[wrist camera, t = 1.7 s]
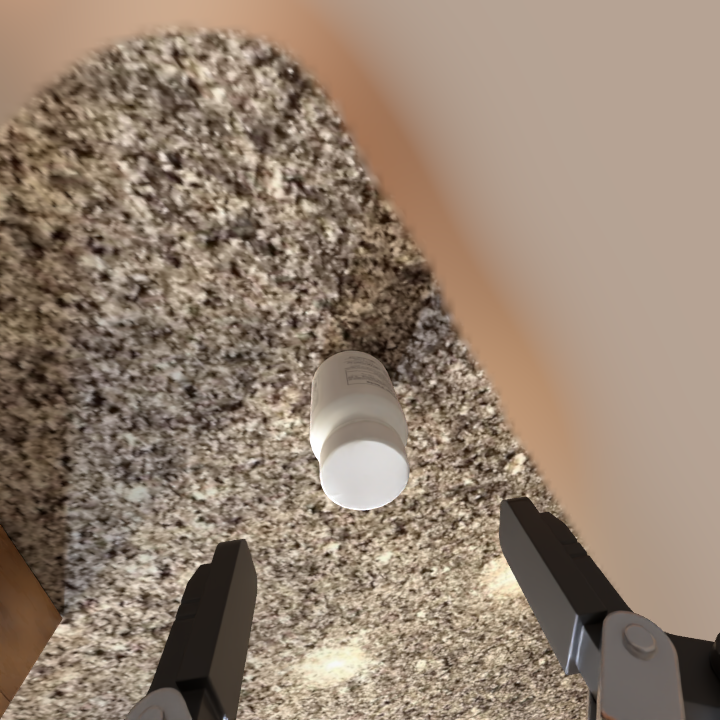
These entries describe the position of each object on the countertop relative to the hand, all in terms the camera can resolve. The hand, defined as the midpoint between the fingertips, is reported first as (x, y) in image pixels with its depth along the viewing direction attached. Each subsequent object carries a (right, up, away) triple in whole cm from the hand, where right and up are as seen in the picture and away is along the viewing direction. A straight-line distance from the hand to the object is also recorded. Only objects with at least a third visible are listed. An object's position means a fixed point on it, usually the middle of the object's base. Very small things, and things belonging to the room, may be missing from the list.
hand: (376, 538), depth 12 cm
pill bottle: (-1, +4, +10) cm, 11 cm away
